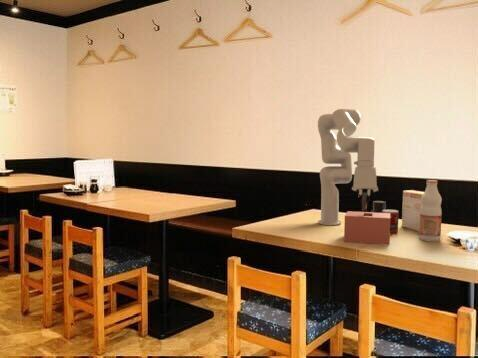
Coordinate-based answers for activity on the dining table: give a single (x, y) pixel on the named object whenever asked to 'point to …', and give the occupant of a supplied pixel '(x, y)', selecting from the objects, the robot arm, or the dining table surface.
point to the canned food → (393, 220)
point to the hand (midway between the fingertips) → (364, 203)
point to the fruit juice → (430, 213)
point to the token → (364, 201)
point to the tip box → (367, 227)
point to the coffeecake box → (411, 209)
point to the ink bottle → (378, 206)
